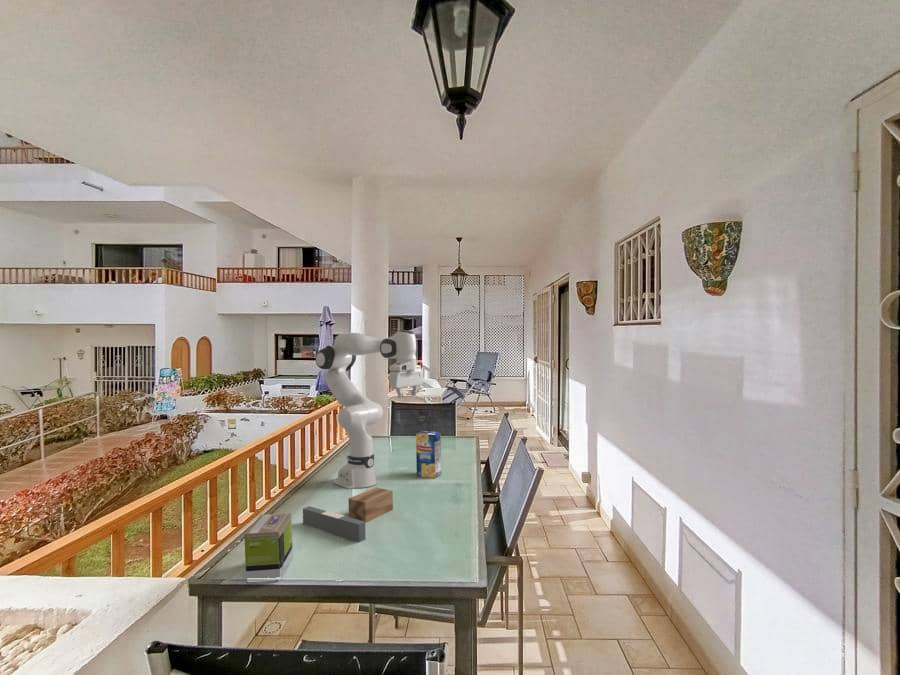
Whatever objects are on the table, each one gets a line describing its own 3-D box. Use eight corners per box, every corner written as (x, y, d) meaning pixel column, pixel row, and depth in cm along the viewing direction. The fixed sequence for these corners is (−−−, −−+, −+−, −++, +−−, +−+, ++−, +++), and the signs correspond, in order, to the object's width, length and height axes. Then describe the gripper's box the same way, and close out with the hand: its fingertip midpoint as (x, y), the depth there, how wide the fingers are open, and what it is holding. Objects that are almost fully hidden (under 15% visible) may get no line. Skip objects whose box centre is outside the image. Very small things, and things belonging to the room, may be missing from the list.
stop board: (302, 524, 175) (302, 508, 175) (309, 521, 178) (309, 505, 178) (359, 542, 158) (359, 524, 158) (365, 538, 161) (365, 521, 161)
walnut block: (348, 518, 180) (348, 498, 180) (376, 506, 194) (376, 487, 194) (365, 523, 175) (365, 502, 175) (392, 510, 189) (392, 490, 189)
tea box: (261, 559, 147) (260, 513, 147) (293, 557, 148) (293, 511, 148) (244, 584, 132) (243, 532, 132) (280, 582, 133) (279, 530, 133)
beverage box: (435, 478, 231) (434, 434, 232) (416, 476, 236) (415, 433, 237) (441, 474, 237) (440, 432, 238) (423, 472, 242) (422, 430, 243)
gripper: (415, 364, 217) (416, 394, 217) (386, 367, 200) (387, 398, 200) (426, 364, 214) (426, 394, 213) (397, 367, 197) (398, 399, 196)
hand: (407, 396), depth 207 cm, fingers open, 8 cm apart
